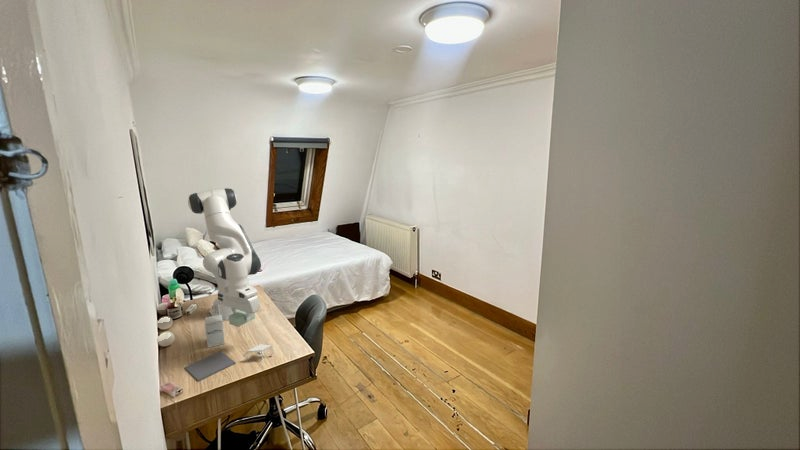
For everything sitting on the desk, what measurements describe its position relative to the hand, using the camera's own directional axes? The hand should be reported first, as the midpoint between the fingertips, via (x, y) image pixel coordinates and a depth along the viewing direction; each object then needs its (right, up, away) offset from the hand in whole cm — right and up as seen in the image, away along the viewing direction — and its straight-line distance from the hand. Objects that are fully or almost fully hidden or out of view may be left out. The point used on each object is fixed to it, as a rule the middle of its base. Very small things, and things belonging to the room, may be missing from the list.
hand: (241, 317), depth 156 cm
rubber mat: (-9, -18, -10) cm, 22 cm away
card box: (0, -2, 0) cm, 2 cm away
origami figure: (+9, -17, -4) cm, 20 cm away
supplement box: (-16, -14, +8) cm, 23 cm away
